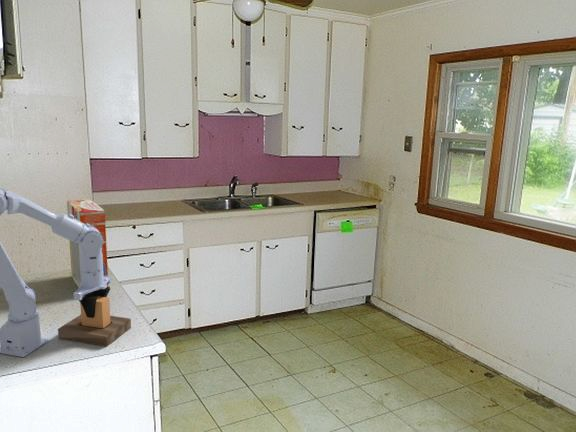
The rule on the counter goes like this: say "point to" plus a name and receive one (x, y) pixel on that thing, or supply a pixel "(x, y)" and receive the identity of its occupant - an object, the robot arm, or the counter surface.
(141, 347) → the counter surface
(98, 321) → the keyed peg
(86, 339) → the keyed socket
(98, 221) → the cereal box
